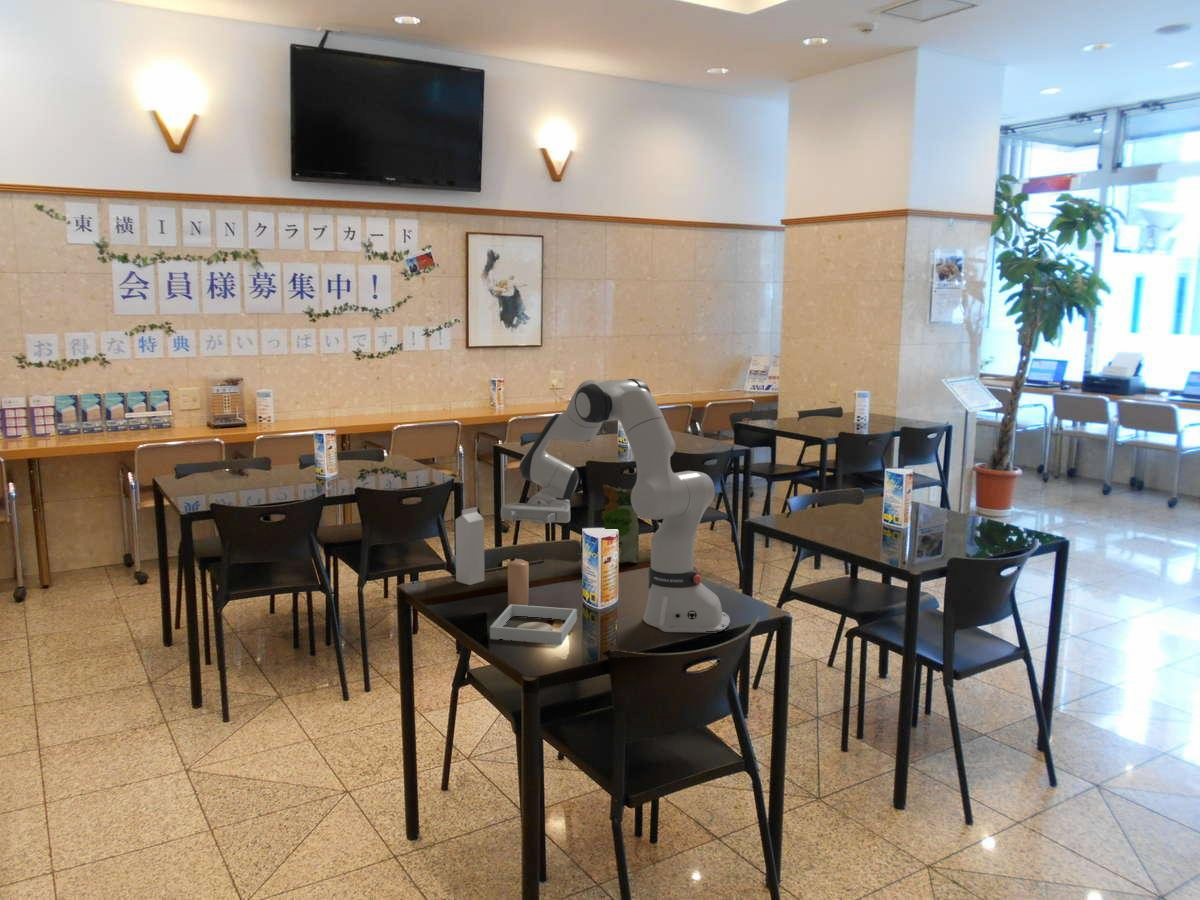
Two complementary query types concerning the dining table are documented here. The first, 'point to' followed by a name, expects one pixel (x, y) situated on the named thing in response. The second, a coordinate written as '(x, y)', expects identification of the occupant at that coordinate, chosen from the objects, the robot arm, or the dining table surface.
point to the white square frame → (532, 634)
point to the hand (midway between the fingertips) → (529, 519)
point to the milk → (469, 547)
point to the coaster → (536, 626)
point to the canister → (518, 582)
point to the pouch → (622, 521)
